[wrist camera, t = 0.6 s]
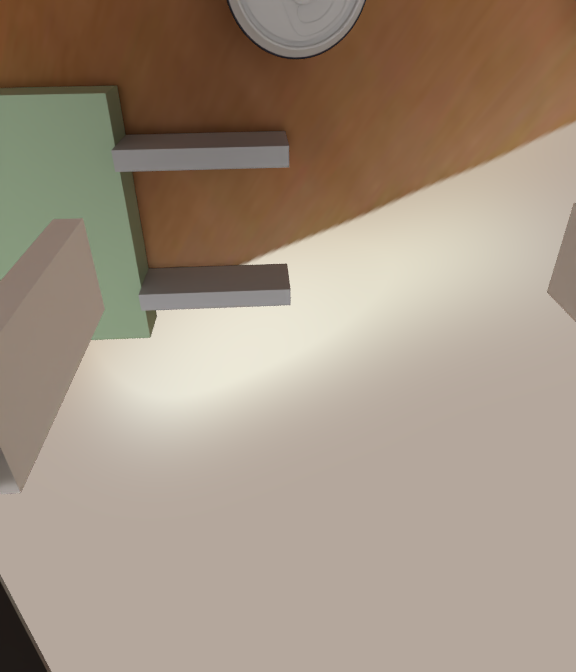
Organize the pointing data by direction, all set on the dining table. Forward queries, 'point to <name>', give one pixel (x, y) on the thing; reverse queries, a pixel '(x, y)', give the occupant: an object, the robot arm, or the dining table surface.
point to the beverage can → (296, 24)
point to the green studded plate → (119, 200)
